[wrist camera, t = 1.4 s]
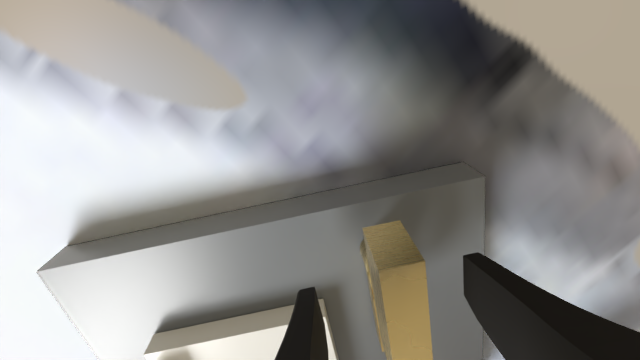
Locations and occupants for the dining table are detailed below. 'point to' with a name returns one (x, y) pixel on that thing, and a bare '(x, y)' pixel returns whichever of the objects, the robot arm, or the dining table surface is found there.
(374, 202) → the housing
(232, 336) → the cover
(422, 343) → the key
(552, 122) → the dining table surface
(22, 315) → the dining table surface
